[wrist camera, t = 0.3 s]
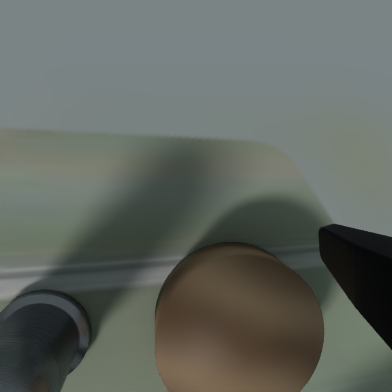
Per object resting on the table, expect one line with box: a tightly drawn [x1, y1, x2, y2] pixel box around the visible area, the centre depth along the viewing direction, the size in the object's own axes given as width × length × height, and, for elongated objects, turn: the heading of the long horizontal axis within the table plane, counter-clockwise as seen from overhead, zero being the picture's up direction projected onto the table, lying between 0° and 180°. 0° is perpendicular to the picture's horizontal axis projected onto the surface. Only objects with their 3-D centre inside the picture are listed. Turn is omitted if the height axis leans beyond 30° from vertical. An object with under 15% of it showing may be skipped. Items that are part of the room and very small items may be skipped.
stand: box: [155, 242, 324, 392], centre depth 23 cm, size 12×12×4 cm
